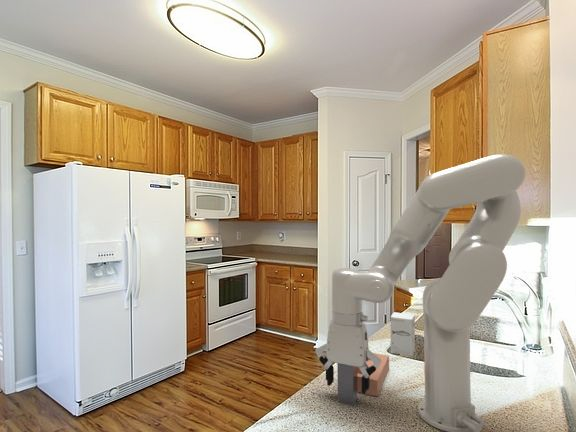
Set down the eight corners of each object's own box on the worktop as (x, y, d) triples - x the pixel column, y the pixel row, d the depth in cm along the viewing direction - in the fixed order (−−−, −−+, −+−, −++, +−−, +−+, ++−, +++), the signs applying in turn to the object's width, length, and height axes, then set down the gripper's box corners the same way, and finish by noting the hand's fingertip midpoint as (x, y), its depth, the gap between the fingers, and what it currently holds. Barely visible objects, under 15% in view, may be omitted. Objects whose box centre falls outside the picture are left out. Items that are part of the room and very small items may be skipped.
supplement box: (390, 353, 113) (389, 316, 113) (393, 346, 119) (393, 311, 120) (412, 357, 109) (412, 319, 110) (415, 349, 116) (415, 313, 116)
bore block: (356, 362, 105) (356, 350, 105) (389, 368, 100) (388, 355, 100) (340, 387, 89) (340, 372, 89) (377, 396, 84) (377, 380, 84)
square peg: (342, 394, 85) (342, 355, 85) (357, 398, 83) (357, 358, 84) (337, 402, 82) (337, 361, 82) (353, 405, 80) (353, 364, 80)
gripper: (384, 318, 83) (385, 388, 82) (320, 310, 90) (320, 374, 90) (379, 326, 76) (379, 403, 75) (309, 317, 84) (309, 386, 83)
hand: (347, 387), depth 83 cm, fingers open, 8 cm apart
